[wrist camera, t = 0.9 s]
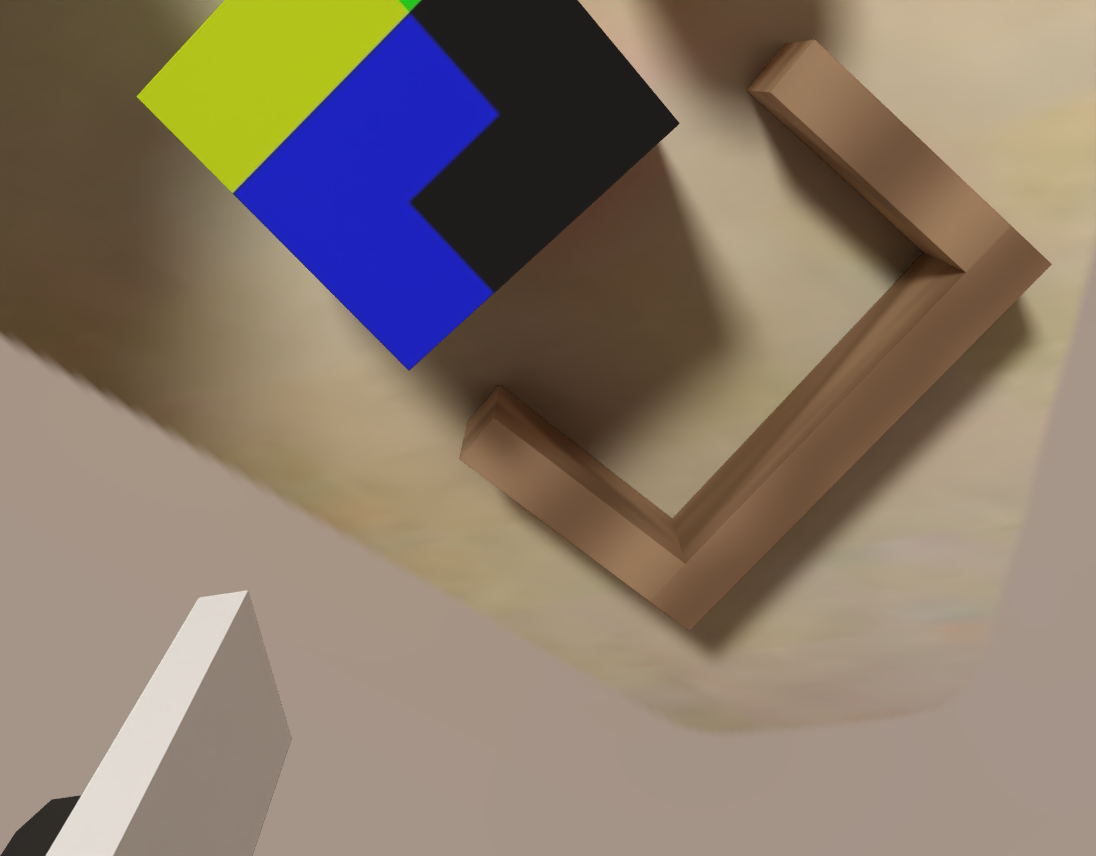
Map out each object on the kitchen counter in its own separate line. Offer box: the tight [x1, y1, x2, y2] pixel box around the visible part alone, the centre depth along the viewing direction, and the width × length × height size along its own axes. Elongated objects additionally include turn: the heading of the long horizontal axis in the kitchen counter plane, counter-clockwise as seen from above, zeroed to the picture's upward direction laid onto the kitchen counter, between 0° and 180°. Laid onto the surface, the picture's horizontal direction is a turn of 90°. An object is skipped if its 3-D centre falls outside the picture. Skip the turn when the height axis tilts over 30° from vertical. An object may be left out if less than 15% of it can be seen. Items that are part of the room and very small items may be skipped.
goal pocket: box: [459, 40, 1052, 631], centre depth 37 cm, size 11×18×4 cm, turn 141°
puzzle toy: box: [136, 0, 680, 370], centre depth 31 cm, size 10×10×10 cm
